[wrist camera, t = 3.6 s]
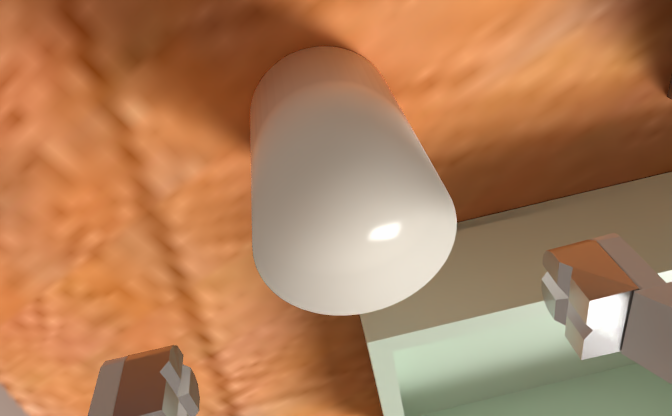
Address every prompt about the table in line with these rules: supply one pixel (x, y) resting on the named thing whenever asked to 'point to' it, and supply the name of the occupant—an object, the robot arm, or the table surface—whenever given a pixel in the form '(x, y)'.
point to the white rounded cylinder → (341, 188)
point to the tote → (518, 317)
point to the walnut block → (670, 90)
